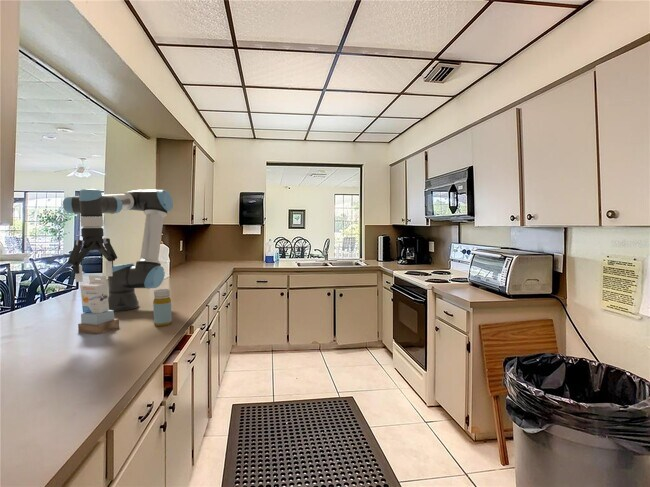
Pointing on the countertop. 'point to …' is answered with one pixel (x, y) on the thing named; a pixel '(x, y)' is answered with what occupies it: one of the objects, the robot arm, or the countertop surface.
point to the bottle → (162, 307)
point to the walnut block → (98, 327)
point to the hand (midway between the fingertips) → (95, 278)
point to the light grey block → (97, 317)
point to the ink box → (95, 295)
